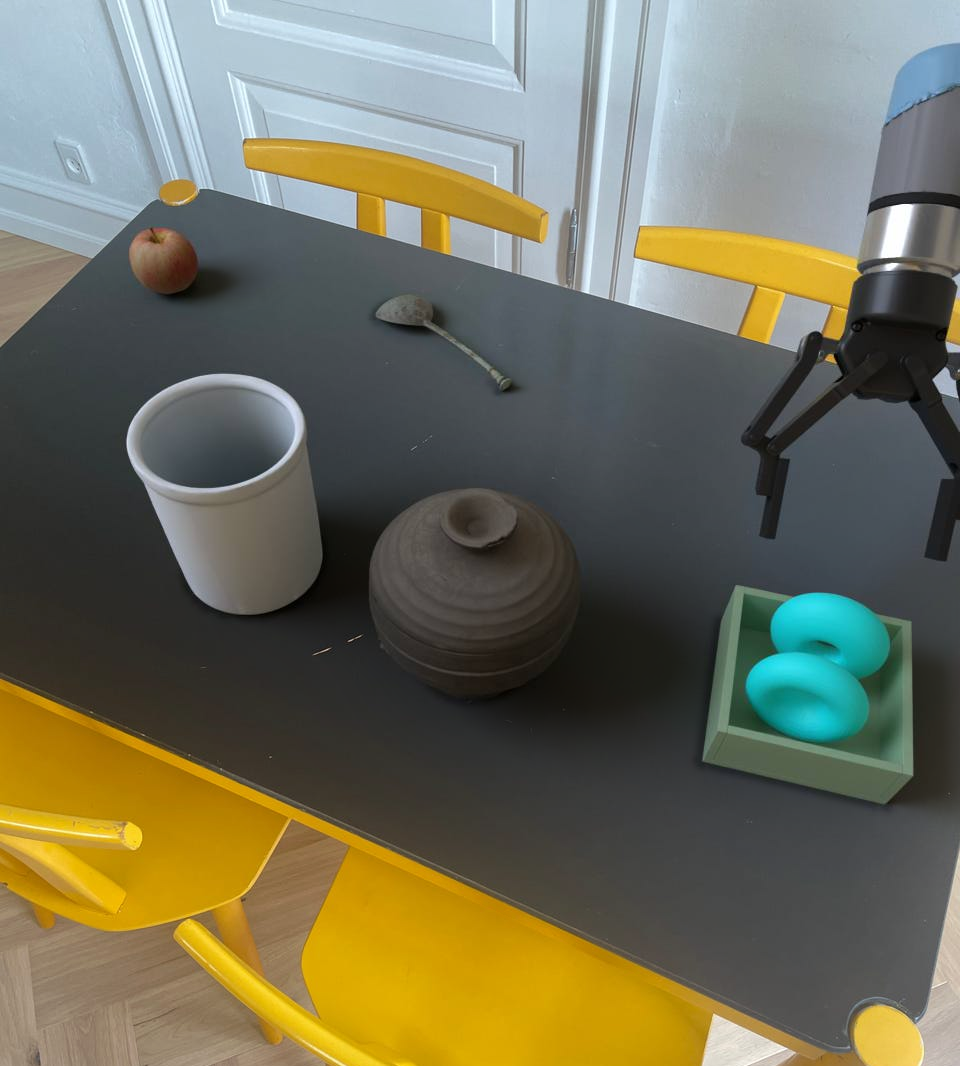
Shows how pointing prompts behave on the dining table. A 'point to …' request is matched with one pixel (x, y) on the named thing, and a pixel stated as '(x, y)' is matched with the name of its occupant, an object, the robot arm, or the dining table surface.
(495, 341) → the dining table surface
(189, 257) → the apple
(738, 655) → the bin
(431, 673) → the pot
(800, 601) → the donuts
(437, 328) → the soupspoon
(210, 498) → the utensil holder
